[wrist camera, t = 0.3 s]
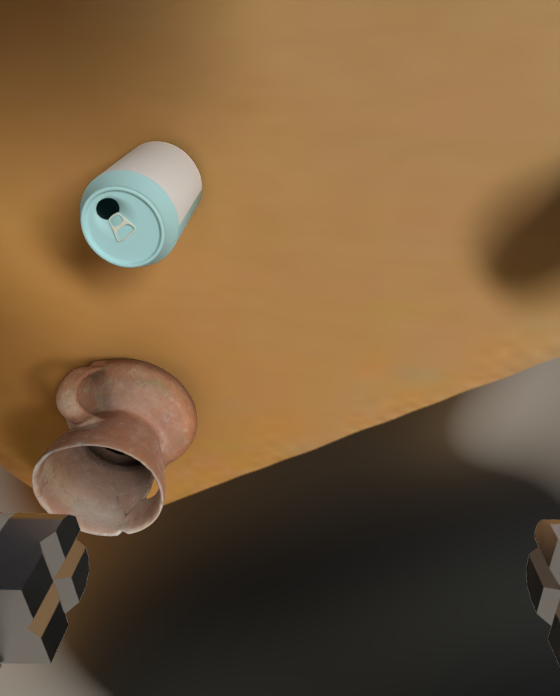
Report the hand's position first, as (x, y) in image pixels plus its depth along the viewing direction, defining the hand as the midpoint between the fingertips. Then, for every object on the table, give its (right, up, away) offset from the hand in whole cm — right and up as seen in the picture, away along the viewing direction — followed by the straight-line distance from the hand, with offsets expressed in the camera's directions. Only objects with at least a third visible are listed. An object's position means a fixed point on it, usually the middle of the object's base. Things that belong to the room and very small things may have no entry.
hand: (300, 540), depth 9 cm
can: (-11, +18, +36) cm, 42 cm away
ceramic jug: (-17, -2, +49) cm, 52 cm away
